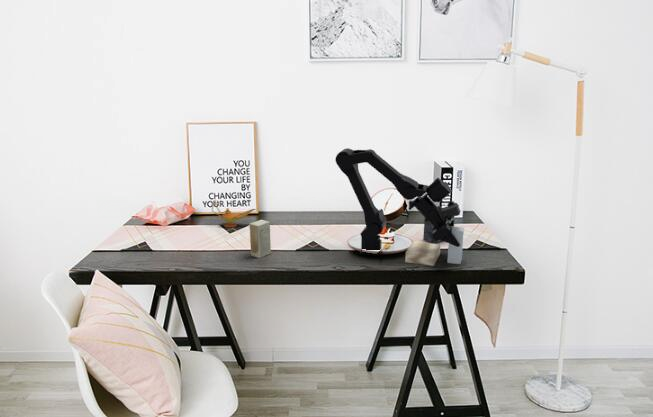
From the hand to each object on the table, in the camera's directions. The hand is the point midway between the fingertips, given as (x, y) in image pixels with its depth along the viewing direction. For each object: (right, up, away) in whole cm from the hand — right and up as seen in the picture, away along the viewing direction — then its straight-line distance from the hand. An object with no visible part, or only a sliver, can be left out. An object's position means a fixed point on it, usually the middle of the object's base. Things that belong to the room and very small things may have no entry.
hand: (459, 243), depth 214 cm
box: (-4, 0, +23) cm, 24 cm away
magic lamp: (-84, +5, +40) cm, 93 cm away
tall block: (-1, -6, +2) cm, 7 cm away
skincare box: (-70, -5, +8) cm, 70 cm away
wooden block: (-12, -6, +5) cm, 14 cm away
